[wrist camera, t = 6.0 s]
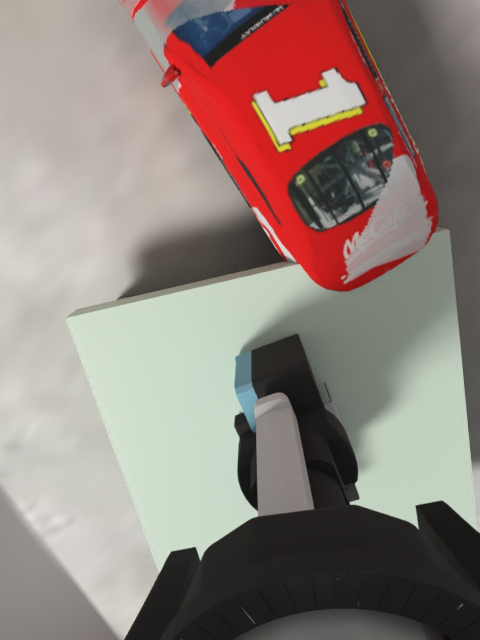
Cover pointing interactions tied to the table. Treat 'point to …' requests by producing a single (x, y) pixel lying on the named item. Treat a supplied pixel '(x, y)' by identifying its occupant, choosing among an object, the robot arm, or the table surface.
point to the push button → (314, 533)
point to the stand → (327, 366)
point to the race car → (299, 128)
